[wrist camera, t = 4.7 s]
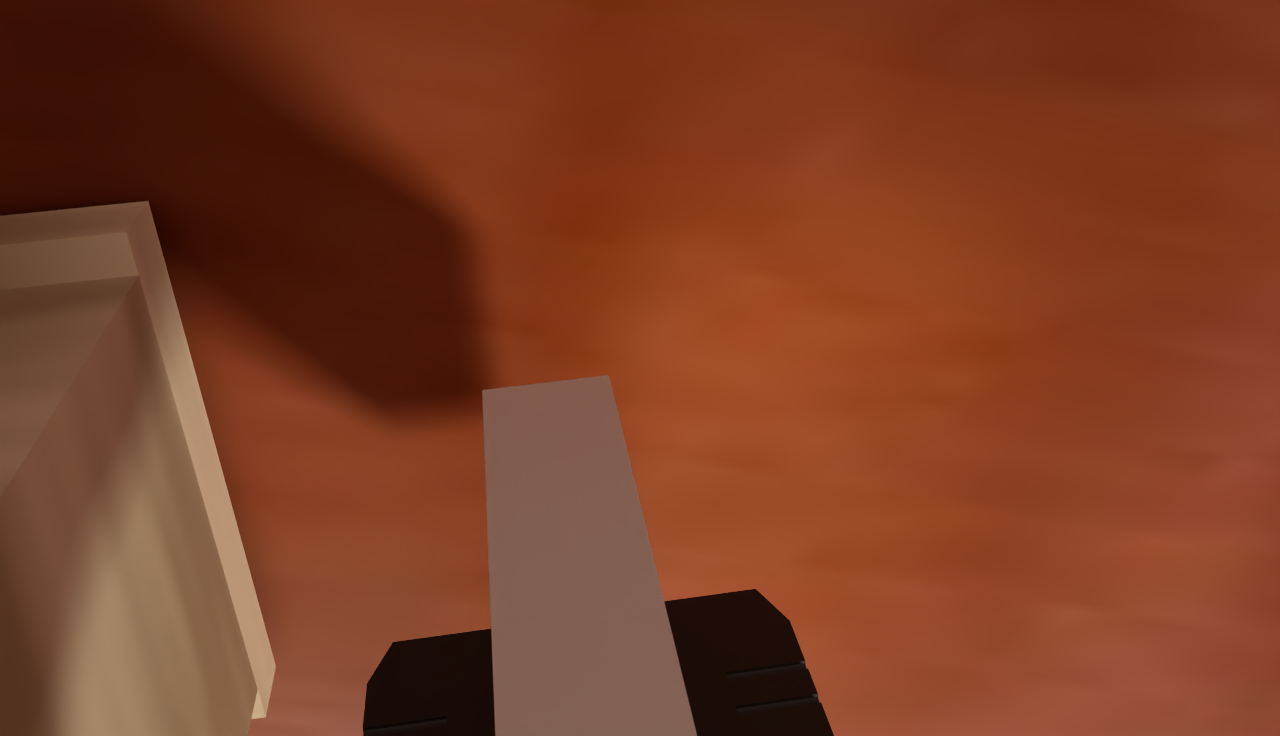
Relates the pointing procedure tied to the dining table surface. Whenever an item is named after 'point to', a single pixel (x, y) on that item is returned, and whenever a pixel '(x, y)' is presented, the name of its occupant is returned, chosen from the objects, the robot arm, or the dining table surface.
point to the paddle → (113, 498)
